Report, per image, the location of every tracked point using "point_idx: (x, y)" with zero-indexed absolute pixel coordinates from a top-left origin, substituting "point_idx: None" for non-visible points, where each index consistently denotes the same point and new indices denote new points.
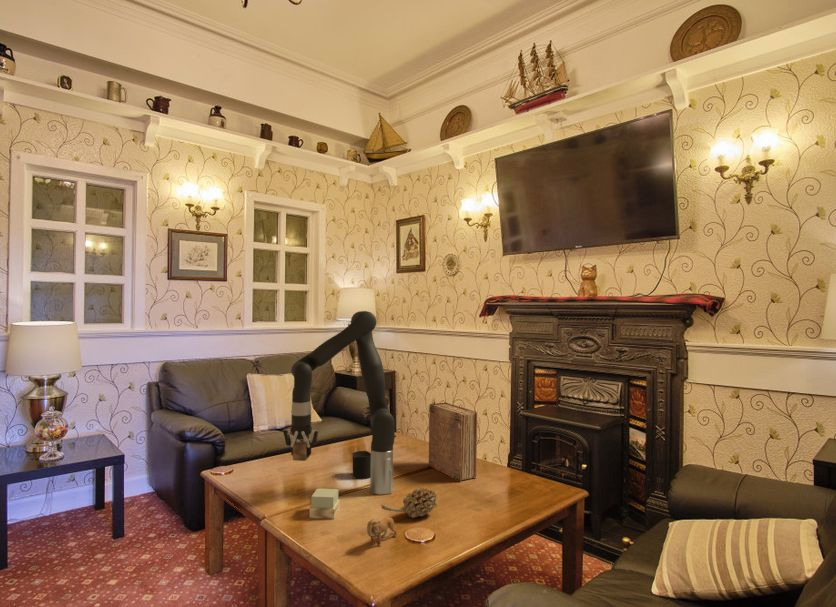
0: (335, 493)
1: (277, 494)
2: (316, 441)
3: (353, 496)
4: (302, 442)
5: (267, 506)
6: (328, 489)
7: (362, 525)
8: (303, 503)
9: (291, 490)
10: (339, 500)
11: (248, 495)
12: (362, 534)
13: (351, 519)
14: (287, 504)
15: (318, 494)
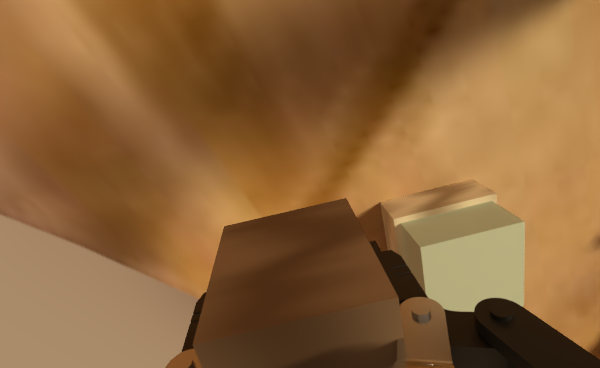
0: (522, 269)
1: (136, 129)
2: (547, 328)
3: (499, 25)
4: (311, 359)
5: (190, 253)
6: (477, 239)
7: (576, 265)
8: (310, 180)
9: (164, 55)
10: (494, 194)
11: (18, 187)
12: (582, 311)
13: (534, 240)
14: (253, 211)
15: (451, 304)
